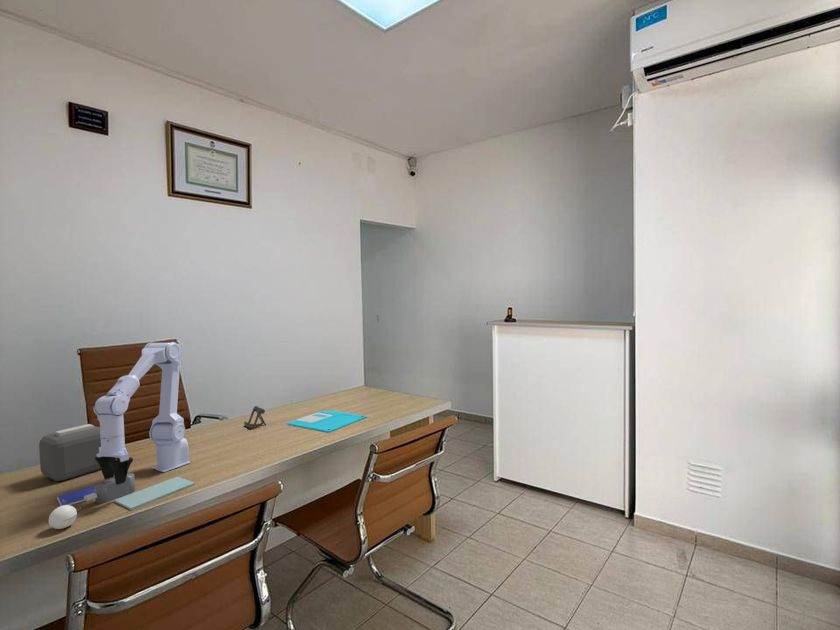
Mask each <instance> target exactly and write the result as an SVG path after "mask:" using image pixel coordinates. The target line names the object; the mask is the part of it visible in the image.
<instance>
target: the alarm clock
mask: <svg viewBox="0 0 840 630" xmlns="http://www.w3.org/2000/svg"><path fill="white" fill-rule="evenodd" d="M99 447H101V438H100V426H96V425H93V424H91V423H87V424H83V425H78V426H73V427H69V428H66V429H65V428H64V429H60V430H57V431H56V430H55V432H51V433H48V434H45V435H44V436H42V438H40V440H39V444H38V450H39V462H40V464H39V465H40V472H41V474H42V475H44V476H46V477H48V478H49V479H51V480H54V481H55V482H60V481H65V480H69V479H72V478H76V477H78V476H82V475H86V474H88V473H92V472H94V471H95V472H96V471H98V470H101V468H100V466H99V464H98V463H97V461H96V460H95V457H97V455H96V454H98V453H99Z"/></svg>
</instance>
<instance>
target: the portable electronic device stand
mask: <svg viewBox="0 0 840 630" xmlns="http://www.w3.org/2000/svg"><path fill="white" fill-rule="evenodd" d="M255 413H256V417H255V420H254V423H253V424H251V422H252V419H253V416H254V414H255ZM265 413H266V411H265V409H264V408H261V407H259V406H257V405H255V406H254V407H253V409H252V410H251V414H250V416H249V419H248V421H243V425H244V426H245V427H246V428H248V429H250V430H254V429H255V428H256V427H257V426H256V425H257V422H258V419H259V421H260V422H261V424H262V423H263V424H264V425H265V426H267V424H266V422H265V420H264V418H263V416H262V415H264V414H265Z"/></svg>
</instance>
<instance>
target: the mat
mask: <svg viewBox="0 0 840 630" xmlns="http://www.w3.org/2000/svg"><path fill="white" fill-rule="evenodd" d="M195 484H196V482H194V481H192V480H189V479H185V478H183V477H180V476H175V477H173V478H170V479H168V480H165V481H162V482H160V483H156V484H154V485H151V486H149V487H145V488H144V489H141V490H138V491H137V490H136V491H134V492H133V493H131V494H128V495H125V496H123V497H120V498H117V499H114V500H113V501H114V503H116V504H117V505H120V506H122V507H124V508H126V509H128V510H130V511H133V510H135V509H138V508H140V507H142V506H145V505H147V504H150V503H152V502H155V501H158V500H160V499H163V498H166V497H168V496H170V495H173V494H176V493H178V492H181V491H183V490H185V489H188V488H190V487H193V486H195Z"/></svg>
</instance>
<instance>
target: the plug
mask: <svg viewBox="0 0 840 630" xmlns="http://www.w3.org/2000/svg"><path fill="white" fill-rule="evenodd" d="M135 478H136V477H135V473H131V472H130V473H127V477H126V481H125V482H124V483H121V484H118V485H117V484H116V482H115V478H114V477H112V478H109V479H106V480H104V481H100V482H97V483H95V484H94V486H95V493H91V494H88V495H86V496H84V500H86V502H89V501H91V500H93V499H94V501H95V504H96V505H102V504H105V503H106V504H107V503H108V502H109V503H110V502H111V501H114V500H116V499H118V498H121V497H124V496H127V495H129V494H132V493H135V492H136V484H135V483H136V482H135V481H136V480H135Z"/></svg>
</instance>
